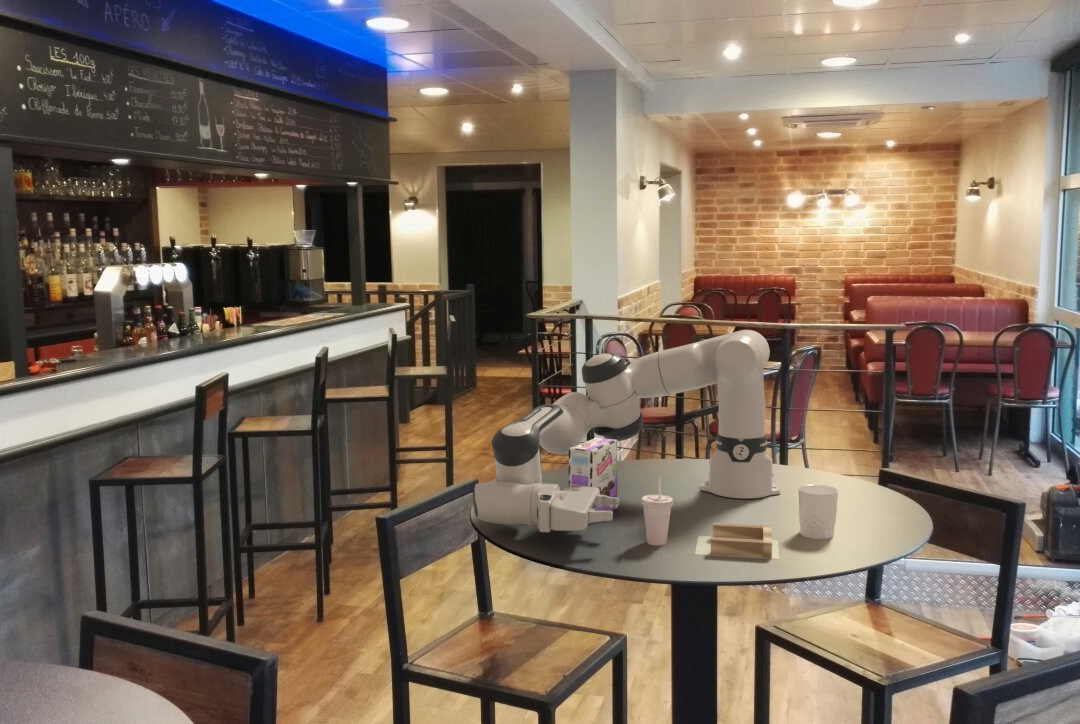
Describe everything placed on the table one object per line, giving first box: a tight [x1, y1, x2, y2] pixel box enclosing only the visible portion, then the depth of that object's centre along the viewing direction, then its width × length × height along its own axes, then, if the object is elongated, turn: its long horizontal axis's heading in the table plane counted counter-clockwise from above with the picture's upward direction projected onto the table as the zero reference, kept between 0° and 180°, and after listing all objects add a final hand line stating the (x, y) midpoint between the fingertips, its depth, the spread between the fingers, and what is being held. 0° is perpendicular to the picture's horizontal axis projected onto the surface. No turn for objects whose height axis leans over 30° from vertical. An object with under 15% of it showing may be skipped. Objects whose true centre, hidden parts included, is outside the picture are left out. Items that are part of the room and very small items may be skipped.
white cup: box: [798, 484, 839, 540], centre depth 207 cm, size 8×8×10 cm
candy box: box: [568, 437, 618, 524], centre depth 223 cm, size 14×6×16 cm, turn 151°
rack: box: [710, 522, 773, 559], centre depth 199 cm, size 12×12×3 cm
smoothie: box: [640, 477, 674, 547], centre depth 202 cm, size 6×6×14 cm
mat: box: [694, 535, 780, 560], centre depth 199 cm, size 12×16×1 cm
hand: (615, 509), depth 203 cm, fingers open, 8 cm apart
